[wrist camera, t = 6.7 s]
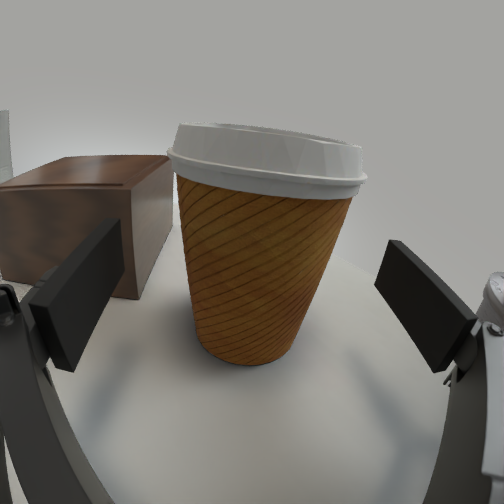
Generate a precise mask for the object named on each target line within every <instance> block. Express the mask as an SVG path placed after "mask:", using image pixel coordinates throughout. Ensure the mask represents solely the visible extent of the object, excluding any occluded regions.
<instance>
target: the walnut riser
mask: <svg viewBox="0 0 504 504" xmlns="http://www.w3.org/2000/svg"><path fill="white" fill-rule="evenodd" d="M173 177H174V172H173V170H172V160H171V159H170V158H169V157H168V156H165V155H101V156H77V157H65V158H61V159H59V160H56V161H53V162H50V163H48V164H45V165H43V166H40V167H38V168H35V169H33V170H30V171H28V172H26V173H23V174H21V175H19V176H16V177H14V178H12V179H10V180H8V181H6V182H3V183H1V184H0V271H1V274H2V277H3V279H4V280H9V281H14V282H20V283H25V284H31V285H35V283H36V282H37V281H39V279H40V278H41V277H42V276H43V274H44V273H45V272H46V271H48V270H50V269H51V268H53V267H54V266H60V265H61V263H62V262H63V261H64V260H65V259H66V258H67V257H68V256H69V255H70V254H71V253H72V251H73V250H74V249H75V248H76V247H77V246H78V245H79V244H80V243H81V242H82V241H83V240H84V239H85V238H86V237H87V236H88V235H89V234H90V233H91V232H92V231H93V230H94V229H95V228H96V227H97V226H98V225H99V224H100V223H101V222H102V221H103V220H104V219H105V218H120V219H121V234H122V245H123V256H124V265H125V272H124V274H123V275H122V277H121V279H120V281H119V283H118V284H117V286H116V288H115V290H114V292H113V293H112V295H111V296H112V297H120V298H129V299H139V298H140V295H141V293H142V291H143V288H144V286H145V284H146V281H147V279H148V277H149V275H150V272H151V270H152V268H153V266H154V264H155V261H156V259H157V257H158V255H159V253H160V251H161V249H162V246H163V244H164V242H165V240H166V238H167V236H168V234H169V232H170V230H171V228H172V220H173Z"/></svg>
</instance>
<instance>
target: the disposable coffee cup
mask: <svg viewBox="0 0 504 504" xmlns="http://www.w3.org/2000/svg"><path fill="white" fill-rule="evenodd" d="M167 156H168V157H169V158H170V159H171V160H172V170H173V172H175V173H176V176H177V191H178V198H179V201H178V203H179V209H180V220H181V230H182V238H183V245H184V254H185V262H186V267H187V268H186V270H187V275H188V283H189V290H190V295H191V302H192V309H193V313H194V314H193V315H194V320H195V326H196V333H197V337H198V339H199V341H200V342H201V344H202V345H203V347H204V348H205V349H206V350H207V351H209V352H210V353H211V354H213V355H214V356H216V357H218V358H220V359H222V360H224V361H227V362H231V363H234V364H241V365H260V364H264V363H269V362H272V361H274V360H276V359H278V358H280V357H281V356H283V355H284V354H285V353H286V352H287V351H288V350H289V349H290V347H291V345H292V343H293V341H294V339H295V336H296V334H297V332H298V330H299V328H300V325H301V323H302V321H303V319H304V317H305V314H306V312H307V310H308V308H309V306H310V303H311V301H312V299H313V297H314V294H315V292H316V290H317V287H318V285H319V282H320V280H321V278H322V275H323V273H324V270H325V268H326V266H327V263H328V261H329V259H330V256H331V253H332V251H333V248H334V245H335V243H336V240H337V238H338V235H339V232H340V229H341V227H342V225H343V223H344V219H345V217H346V214H347V211H348V208H349V205H350V203H351V200H352V197H353V196H356V195H357V194H358V191H359V188H360V185H361V184H363V183H365V182H366V179H367V175H366V174H365V173H363V172H362V147H359V146H357V145H353V144H350V143H346V142H343V141H338V140H334V139H330V138H325V137H320V136H315V135H310V134H304V133H298V132H293V131H286V130H279V129H272V128H264V127H255V126H245V125H234V124H217V123H180V124H179V127H178V131H177V134H176V138H175V141H174V145H173V147H171V148H169V149H168V150H167Z"/></svg>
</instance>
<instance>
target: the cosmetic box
mask: <svg viewBox="0 0 504 504" xmlns="http://www.w3.org/2000/svg"><path fill="white" fill-rule="evenodd" d="M12 178H14V177H13V170H12V162H11V151H10V137H9V110H2V111H0V184H1V183H3V182H6V181H8V180H10V179H12Z"/></svg>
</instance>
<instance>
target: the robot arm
mask: <svg viewBox="0 0 504 504" xmlns="http://www.w3.org/2000/svg"><path fill="white" fill-rule="evenodd" d="M124 272H125V265H124V256H123V245H122V234H121V219H120V218H105V219H104V220H103V221H102V222H101V223H100V224H99V225H98V226H97V227H96V228H95V229H94V230H93V231H92V232H91V233H90V234H89V235H88V236H87V237H86V238H85V239H84V240H83V241H82V242H81V243H80V244H79V245H78V246H77V247H76V248H75V249H74V250H73V251H72V253H71V254H70V255H69V256H68V257H67V258H66V259H65V260H64V261H63V262H62V263H61V265H60V266H54V267H53V268H51V269H50V270H48V271H46V272H45V273H44V274H43V276H42V277H41V278H40V279H39V281H37V282H36V283H35V285H34V287H32V288H31V289H30V291H29V292H28V293H27V294H26V295H25V296H24V298H23V299H22V300H21V301H20V303H19V302H18V300H17V297H16V294H15V291H14V288H13V287H12V286H11V285H9V284H0V504H13V502H12V497H11V492H10V487H9V481H8V474H7V466H6V457H5V446H4V436H5V440H6V444H7V447H8V451H9V454H10V457H11V460H12V463H13V466H14V469H15V472H16V474H17V477H18V480H19V482H20V485H21V487H22V490H23V492H24V494H25V497H26V499H27V501H28V503H29V504H115V503H114V502H113V501H112V499H111V498H110V496H109V495H108V493H107V492H106V490H105V489H104V487H103V485H102V484H101V482H100V481H99V479H98V477H97V476H96V474H95V472H94V471H93V469H92V467H91V465H90V464H89V462H88V460H87V458H86V456H85V454H84V453H83V451H82V449H81V447H80V445H79V443H78V441H77V439H76V437H75V435H74V433H73V430H72V428H71V426H70V424H69V422H68V419H67V417H66V415H65V412H64V410H63V408H62V405H61V403H60V400H59V397H58V395H57V392H56V389H55V387H54V384H53V381H52V378H51V375H50V372H49V370H48V368H47V366H46V363H47V361H48V359H49V357H51V359H52V361H53V364H54V366H55V368H57V369H61V370H65V371H69V372H73V373H74V371H75V369H76V367H77V364H78V362H79V360H80V358H81V355H82V353H83V351H84V349H85V347H86V345H87V343H88V340H89V338H90V336H91V334H92V332H93V330H94V328H95V326H96V324H97V322H98V320H99V318H100V316H101V314H102V312H103V310H104V308H105V307H106V305H107V303H108V301H109V299H110V297H111V295H112V293H113V292H114V290H115V288H116V286H117V284H118V283H119V281H120V279H121V277H122V275H123V274H124ZM374 286H375V287H376V288H377V290H378V291H379V292H380V294H381V295H382V297H383V298H384V299H385V301H386V302H387V304H388V305H389V306H390V308H391V309H392V311H393V312H394V314H395V315H396V316H397V318H398V319H399V321H400V322H401V324H402V325H403V327H404V328H405V330H406V331H407V333H408V334H409V336H410V337H411V339H412V340H413V342H414V343H415V345H416V346H417V348H418V349H419V351H420V353H421V354H422V356H423V357H424V359H425V360H426V362H427V364H428V365H429V367H430V368H431V370H432V372H433V373H437V372H441V371H445V370H446V369H447V368H448V366H449V365H450V363H451V362H452V360H454V361H455V363H456V366H455V367H454V369H453V370H452V371H451V373H450V374H449V375H448V377H447V378H446V380H445V381H444V383H443V384H444V385H445V384H446V383H447V382H448V381H449V380H451V382H450V384H449V385H448V386H449V387H450V395H449V402H448V409H447V415H446V421H445V426H444V431H443V436H442V440H441V445H440V449H439V453H438V457H437V461H436V464H435V468H434V471H433V475H432V478H431V481H430V484H429V487H428V490H427V493H426V496H425V499H424V501H423V504H504V333H503V331H502V330H501V329H500V328H499V327H498V326H497V325H495V324H494V323H492V322H489V321H485V322H483V323H481V322H480V321H479V320H478V317H477V316H476V315H475V314H474V313H473V312H472V310H471V309H470V308H469V307H468V306H467V305H466V304H465V303H464V302H463V301H462V300H461V299H460V298H459V297H458V296H457V295H456V293H455V292H454V291H453V290H452V289H451V288H450V287H449V286H448V285H447V284H446V283H445V282H444V281H443V280H442V279H441V278H440V277H439V276H438V275H437V274H436V273H434V271H433V270H432V269H430V268H429V267H428V266H427V265H426V264H425V263H424V262H423V261H422V260H421V259H420V258H419V257H418V256H417V255H416V254H414V253H413V252H412V251H411V250H410V249H409V248H408V247H407V246H406V245H404V244H403V243H402V242H401V241H398V240H389V242H388V245H387V248H386V251H385V254H384V257H383V261H382V264H381V266H380V269H379V272H378V275H377V278H376V281H375V284H374Z"/></svg>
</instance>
